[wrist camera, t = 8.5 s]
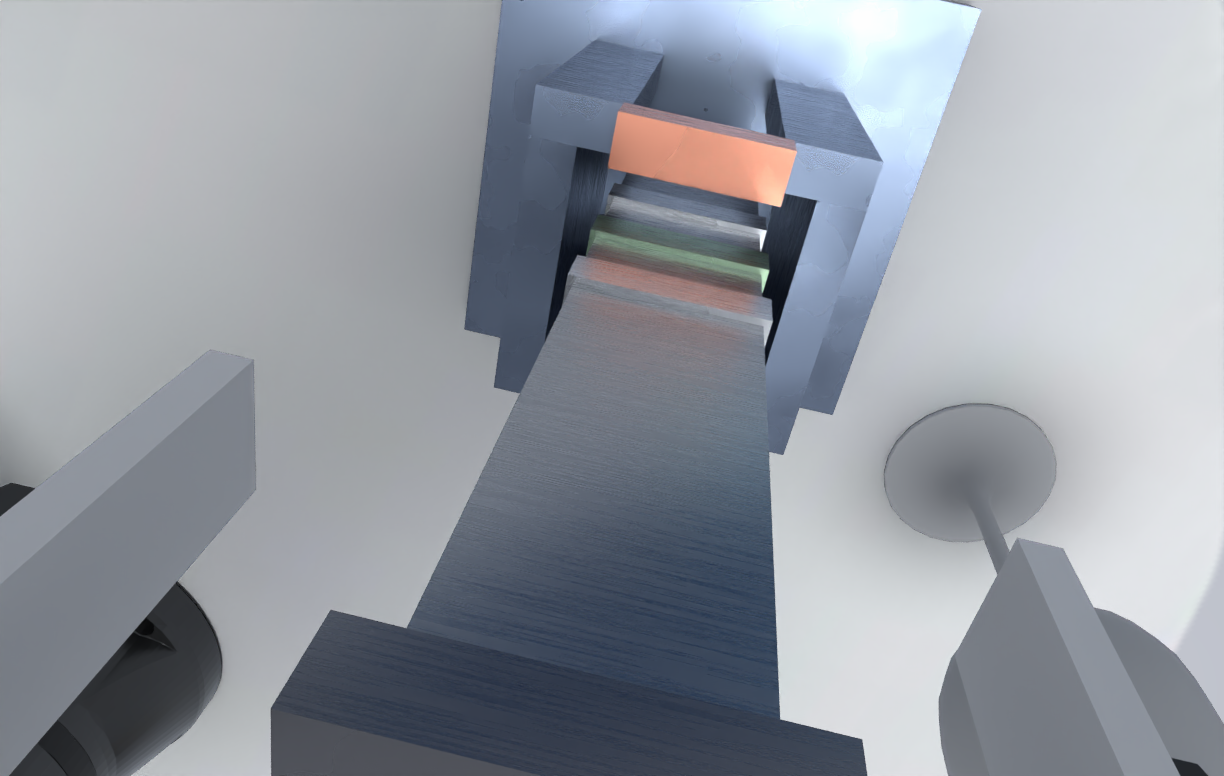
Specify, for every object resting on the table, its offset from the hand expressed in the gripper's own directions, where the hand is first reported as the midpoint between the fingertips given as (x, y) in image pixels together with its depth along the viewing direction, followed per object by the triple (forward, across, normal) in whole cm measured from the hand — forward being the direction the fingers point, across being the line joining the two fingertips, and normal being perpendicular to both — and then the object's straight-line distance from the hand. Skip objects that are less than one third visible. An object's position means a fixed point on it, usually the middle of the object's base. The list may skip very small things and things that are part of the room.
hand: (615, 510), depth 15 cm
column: (+14, 0, 0) cm, 14 cm away
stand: (+22, 0, 0) cm, 22 cm away
